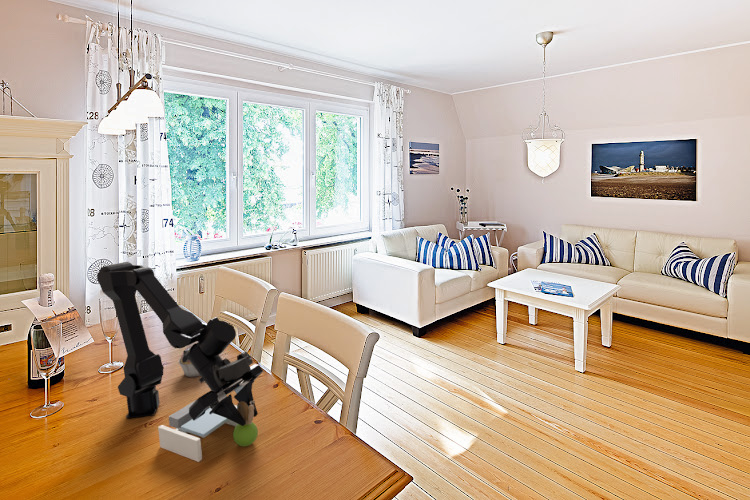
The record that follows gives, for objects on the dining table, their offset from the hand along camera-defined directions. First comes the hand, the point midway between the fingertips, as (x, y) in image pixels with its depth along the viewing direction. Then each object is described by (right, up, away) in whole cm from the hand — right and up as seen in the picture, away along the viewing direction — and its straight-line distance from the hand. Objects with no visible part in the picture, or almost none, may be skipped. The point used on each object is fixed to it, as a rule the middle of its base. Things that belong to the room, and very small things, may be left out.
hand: (250, 420), depth 97 cm
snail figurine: (-1, -7, +2) cm, 7 cm away
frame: (-12, -6, +5) cm, 15 cm away
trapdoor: (-12, -2, +4) cm, 13 cm away
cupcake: (-28, 0, +38) cm, 47 cm away
